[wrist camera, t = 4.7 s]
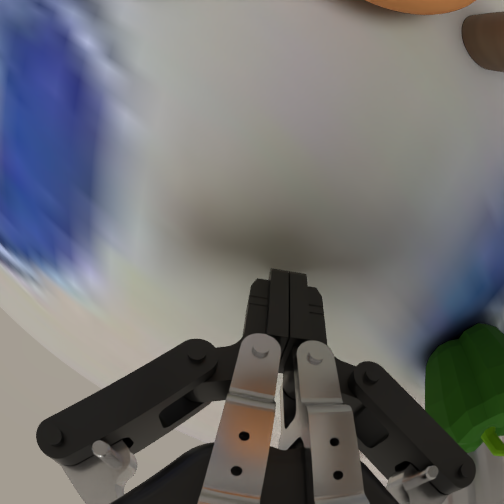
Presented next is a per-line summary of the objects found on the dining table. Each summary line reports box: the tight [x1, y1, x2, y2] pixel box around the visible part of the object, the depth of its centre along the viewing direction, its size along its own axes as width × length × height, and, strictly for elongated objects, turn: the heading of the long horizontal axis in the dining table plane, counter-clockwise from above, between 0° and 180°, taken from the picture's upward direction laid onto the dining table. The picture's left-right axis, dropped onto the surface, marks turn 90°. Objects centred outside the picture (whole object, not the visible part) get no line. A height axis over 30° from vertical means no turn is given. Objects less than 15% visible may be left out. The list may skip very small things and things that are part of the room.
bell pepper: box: [425, 323, 504, 456], centre depth 13 cm, size 8×8×10 cm
